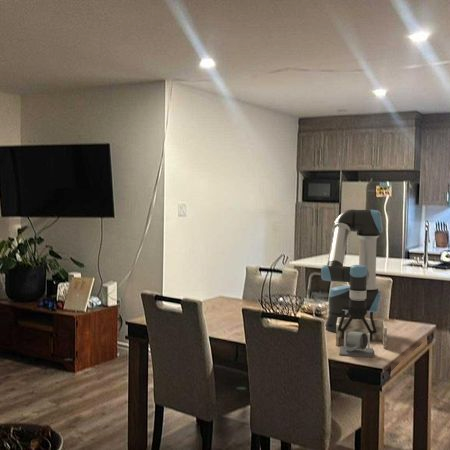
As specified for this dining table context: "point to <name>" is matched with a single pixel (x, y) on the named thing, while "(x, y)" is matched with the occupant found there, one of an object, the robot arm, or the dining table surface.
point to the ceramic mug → (356, 340)
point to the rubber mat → (357, 352)
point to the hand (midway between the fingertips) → (356, 346)
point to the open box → (364, 329)
